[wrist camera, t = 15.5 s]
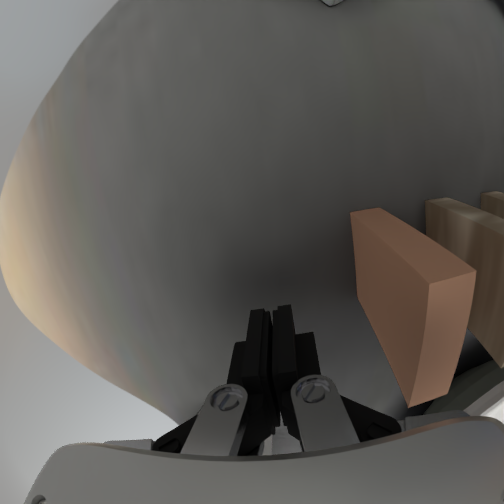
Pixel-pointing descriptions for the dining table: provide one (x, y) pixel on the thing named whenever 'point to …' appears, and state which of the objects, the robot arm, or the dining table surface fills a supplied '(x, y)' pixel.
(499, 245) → the birch domino
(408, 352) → the terracotta domino
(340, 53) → the dining table surface
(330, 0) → the skincare box
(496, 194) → the birch domino
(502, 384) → the bowl
